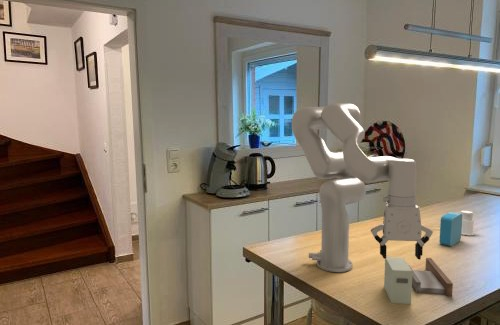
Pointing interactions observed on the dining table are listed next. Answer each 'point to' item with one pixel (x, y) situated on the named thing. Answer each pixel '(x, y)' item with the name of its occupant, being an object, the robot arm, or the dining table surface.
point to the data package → (450, 228)
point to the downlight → (467, 223)
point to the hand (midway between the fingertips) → (400, 257)
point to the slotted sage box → (398, 280)
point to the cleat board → (431, 280)
